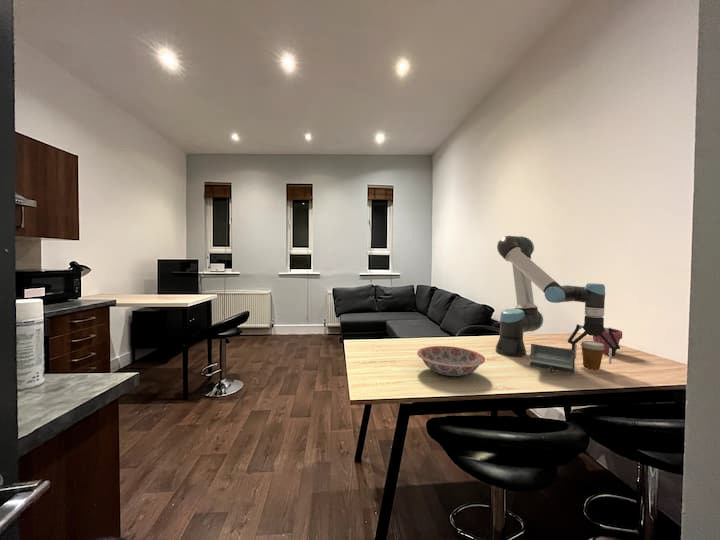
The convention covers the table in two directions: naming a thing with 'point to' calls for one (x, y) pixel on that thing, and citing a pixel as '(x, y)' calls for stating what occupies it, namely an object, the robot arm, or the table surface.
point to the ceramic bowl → (451, 360)
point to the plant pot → (616, 334)
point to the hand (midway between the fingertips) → (592, 360)
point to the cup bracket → (552, 358)
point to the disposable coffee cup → (592, 354)
